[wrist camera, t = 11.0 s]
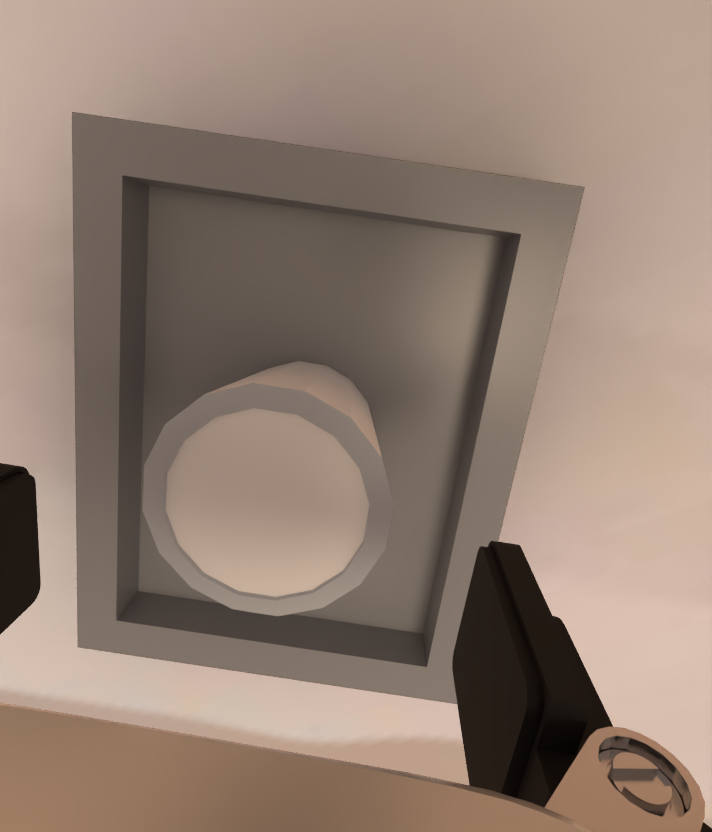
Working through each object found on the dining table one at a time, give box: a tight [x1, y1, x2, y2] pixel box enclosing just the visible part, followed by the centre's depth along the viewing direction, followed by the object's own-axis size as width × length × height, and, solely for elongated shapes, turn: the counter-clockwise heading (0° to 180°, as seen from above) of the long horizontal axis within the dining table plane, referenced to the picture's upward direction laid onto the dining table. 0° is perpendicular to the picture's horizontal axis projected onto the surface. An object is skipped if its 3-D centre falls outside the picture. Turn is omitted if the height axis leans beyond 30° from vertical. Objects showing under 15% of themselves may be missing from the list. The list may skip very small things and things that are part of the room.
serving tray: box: [72, 112, 585, 704], centre depth 20 cm, size 20×16×3 cm
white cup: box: [143, 361, 394, 616], centre depth 17 cm, size 7×7×7 cm
